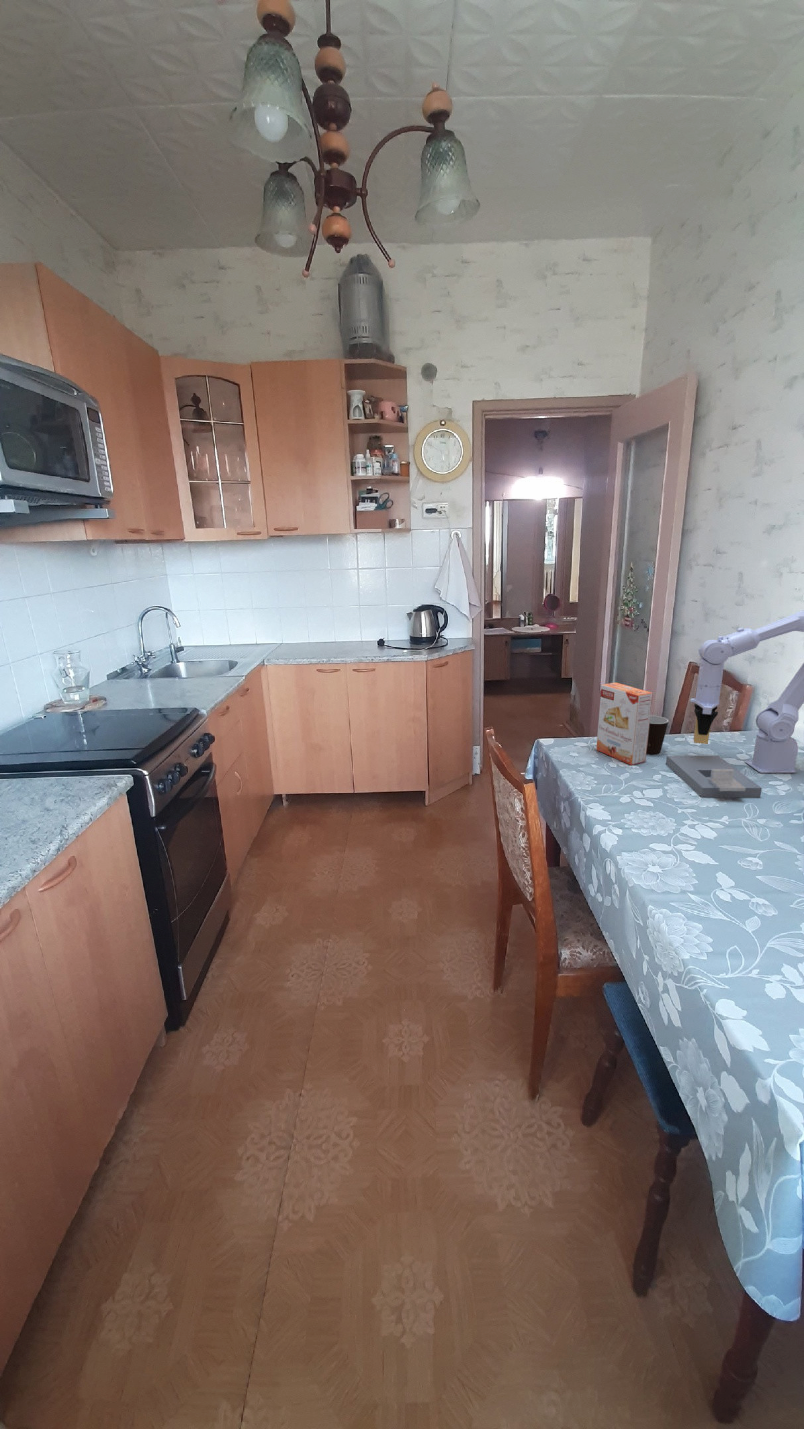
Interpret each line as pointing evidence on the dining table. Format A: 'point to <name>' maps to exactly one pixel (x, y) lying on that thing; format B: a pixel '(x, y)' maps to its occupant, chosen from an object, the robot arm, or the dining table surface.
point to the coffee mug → (656, 734)
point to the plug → (700, 738)
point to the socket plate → (709, 775)
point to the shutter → (725, 780)
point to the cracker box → (624, 722)
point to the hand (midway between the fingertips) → (702, 732)
